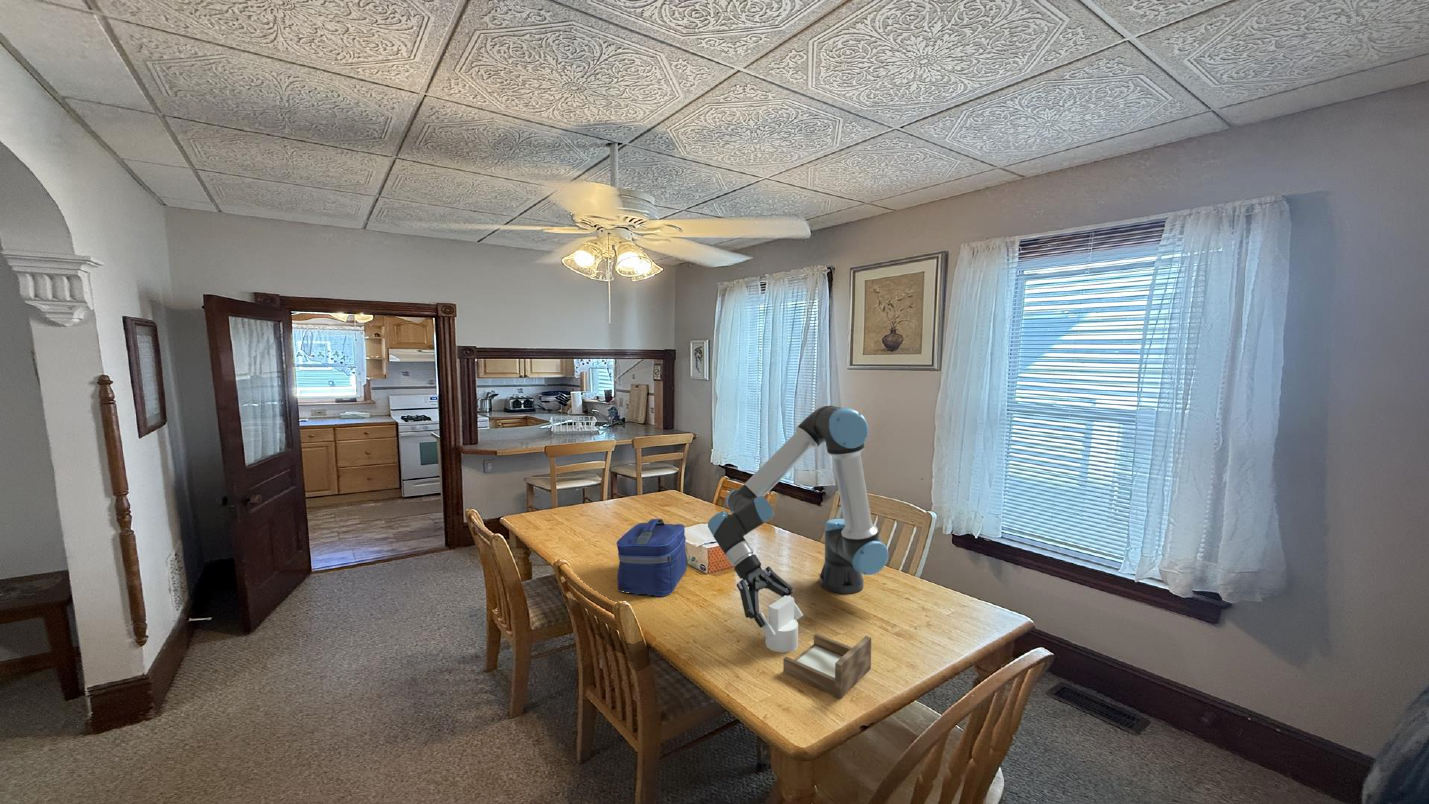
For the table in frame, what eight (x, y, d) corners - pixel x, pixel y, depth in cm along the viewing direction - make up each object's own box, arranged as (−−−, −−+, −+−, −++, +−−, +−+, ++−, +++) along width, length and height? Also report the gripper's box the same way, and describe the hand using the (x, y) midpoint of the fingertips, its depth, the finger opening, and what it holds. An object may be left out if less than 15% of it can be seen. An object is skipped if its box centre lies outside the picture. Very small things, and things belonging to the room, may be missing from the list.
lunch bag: (640, 561, 208) (639, 510, 206) (692, 564, 204) (691, 512, 202) (612, 595, 177) (610, 536, 176) (672, 599, 174) (671, 539, 172)
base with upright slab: (776, 632, 152) (776, 592, 151) (803, 642, 146) (804, 601, 146) (759, 645, 145) (759, 603, 144) (787, 656, 140) (787, 613, 139)
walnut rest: (816, 646, 144) (816, 617, 144) (870, 668, 134) (871, 637, 133) (783, 672, 132) (783, 641, 132) (840, 698, 122) (841, 665, 121)
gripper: (761, 555, 164) (802, 616, 155) (708, 580, 146) (751, 651, 137) (775, 542, 160) (818, 604, 151) (722, 566, 142) (767, 639, 133)
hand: (786, 627), depth 144 cm, fingers open, 13 cm apart
